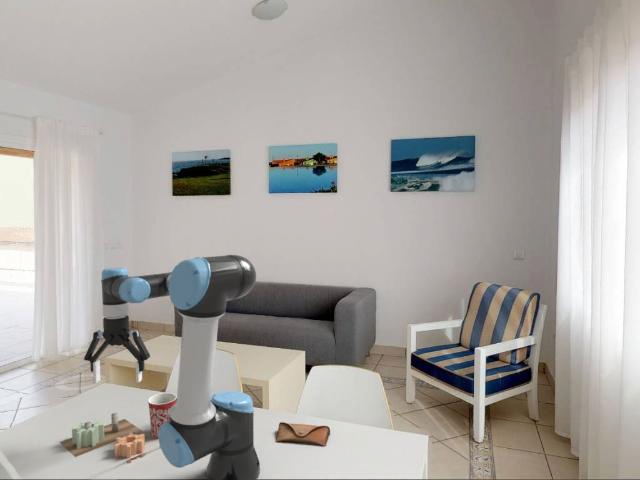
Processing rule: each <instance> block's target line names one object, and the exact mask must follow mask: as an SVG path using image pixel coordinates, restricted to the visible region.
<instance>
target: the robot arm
mask: <svg viewBox="0 0 640 480" xmlns="http://www.w3.org/2000/svg"><path fill="white" fill-rule="evenodd" d="M256 280H257V272H256V268H255V266H254V265H253V263H252V262H251V261H250V260H249V259H248V258H246V257H244V256H242V255H239V254H227V255H217V256H205V257H204V256H203V257H200V256H198V257H193V258H188V259H184V260H182V261H180V262H179V263H178V264H177V265H175V266H174V268H173V270H172V271H170V272H169V271H168V272H163V273H155V274H154V273H153V274H145V275H137V276H130V275H129V273H128V270H127V268H125V267H109V268H104V269H103V270H101V280H100V282H101V294H102V295H101V298H102V317H103V319H102V325H103V326H102V329H103V331H101V330H95V331H94V332H93V335H92V339H91V342H90V344H89V346H88V348H87V351H86V353H85V355H84V357H83V360H84V361H88V362H90V363H89V364H90V372H92V373H93V384H97V383H99V381H101V361H100V359H99V357H100V356H101V355H102V354H103V352H104V351H105V350H106V349H107V348H108V347H109V346H118V347H119V346H123V347H124V348H126V349H127V351H129V353H130V354H131V356H133V357H134V358H135V359H136V362H135V378H136V379H135V382H136V383H137V384H138V383H140V382H141V381H142V380H143V372H144V371H145V367H146V366H145V361H147V360H148V359H150V358H151V355H150V352H149V351H148V349H147V347H146V344H145V342H144V341H143V340H142V337H141V333H140V331H139V329H135V330H134V331H130V317H129V312H130V311H129V303H130V304H141V303H144V302H145V301H146V300H151V299H155V298H156V299H158V298H164V297H169V296H170V297H169V298H170V301H171V303H172V305H173V306H174V307H175V308H177V310H176V311H177V313H178V314H179V315H180V316H181V317H182V328H181V339H180V340H181V341H180V352H179V353H180V354H179V369H178V379H177V381H178V382H177V393H176V396H177V403H176V404H174V405H173V406H172V407H171V409H170V413H169V421H168V422H164V423H163V424H162V425H161V426H160V427H159V430H158V443H159V447H160V450H161V452H162V453H163V456H164V457H165V459H166V461H168V463H169V464H170V465H171V466H172V467H174V468H178V469H179V468H184V467H186V466H189V465H192V464H194V463H195V462H197V461H199V460H201V459H203V458H205V457H207V456H209V455H210V456H209V461H208V463H207V466H206V471H205V473H206V475H205V476H206V480H257V479H258V478H259V476H260V473H261V464H260V460H259V457H258V453H257V451H256V448H255V444H254V442H255V441H254V440H255V439H254V415H255V414H254V412H255V410H254V403H253V402H254V401H253V399H252V396H250V395H249V394H247V393H244V392H242V391H234V390H231V391H220V392H216V393H215V394H213V382H214V373H215V372H214V371H215V361H216V350H217V340H218V330H219V329H218V328H219V319H221V318H222V317H223V316H224V315H225V314H226V309H227V302H228V301H229V302H230V301H234V300H238V299H241V298H243V297H244V296H247V295H248V294H249V293H250V292H251V291H253V288H254V287H255V284H256ZM130 337H131V338H132V339H133V342H134V343H133V342H132V340H131V339H130ZM101 338H103V339H104V341H103V343H102V344H101V346H99V347H98V349H97V350H96V348H97V346H98V344H99V342H100V340H101ZM134 344H135V345H136V346H135V345H134ZM95 350H96V352H95ZM212 394H213V395H212Z"/></svg>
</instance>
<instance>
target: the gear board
mask: <svg viewBox="0 0 640 480" xmlns="http://www.w3.org/2000/svg"><path fill="white" fill-rule="evenodd" d="M110 419H111V423H109V424H107V425H104V440H99V441H98V443H96V446H94V447H92V446H91V445H90V446H87V447H85V446H83V447H82V448H80V449H77V444H72V437H70V438H66V439H65V440H62V441H59V443H60V444H61V445H62V446H63V447H64V448H66V450H67V451H69V453H71V454H72V456H73V457H75V458H76V457H79V456H82V455H84V454H86V453H89V452H92V451H94V450H97V449H100V448H102V447H104V446H107V445H111V444H112V443H116V438H118V437H120V438H123V437H124V436H127V435H129V433H132V432H133V434H138V433H141V432H143V430H142V429H141V428H139V427H138V426H136V425H134V424H133V423H131V422H130V421H129V420H127V419H125V418H124V419H120V420H119V413H118V412H113V413H111V418H110ZM85 422H86V423H85V424H84V426H85V429H89V428H91V427H92V423H91V422H92V421H91V422H90V421H85Z"/></svg>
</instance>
